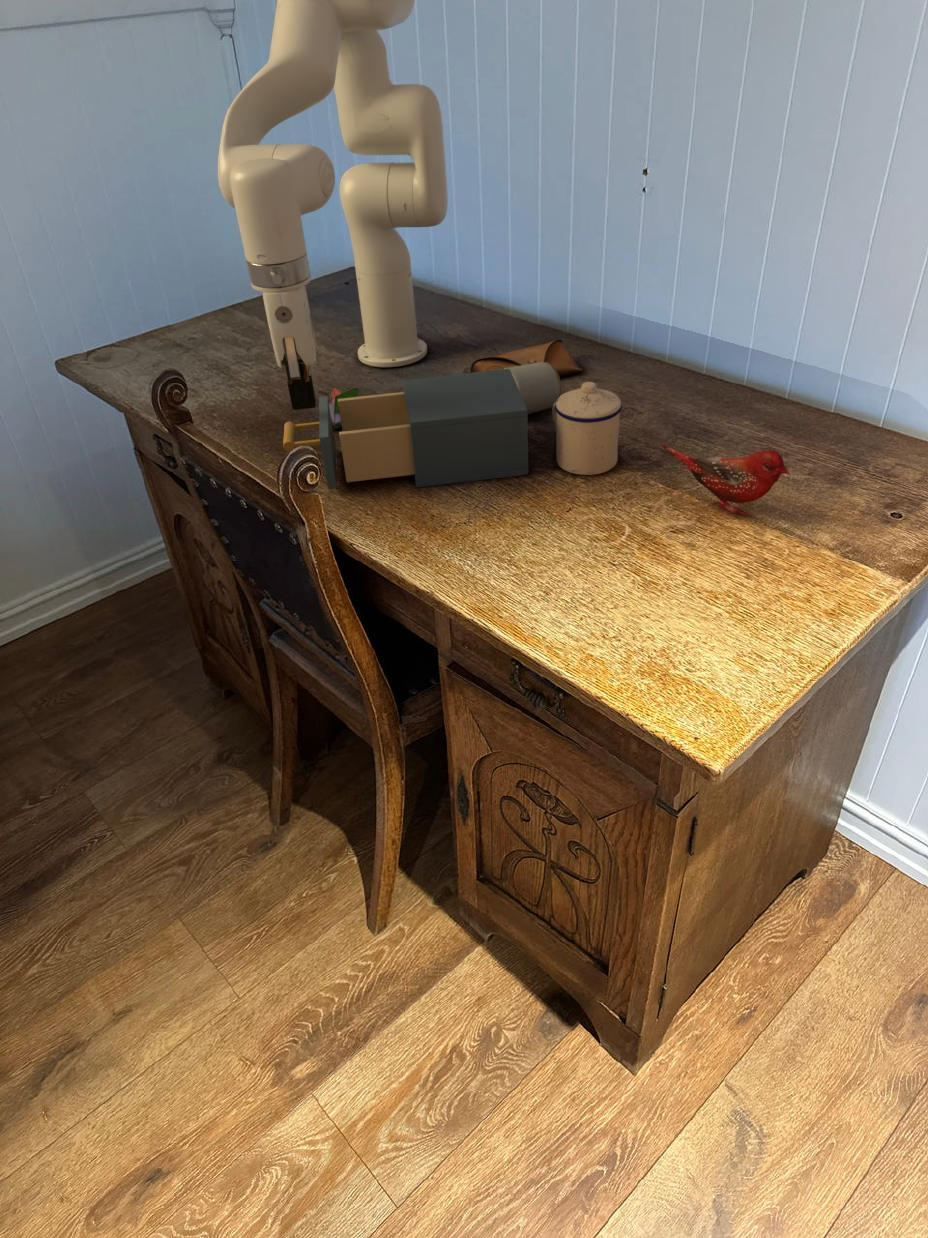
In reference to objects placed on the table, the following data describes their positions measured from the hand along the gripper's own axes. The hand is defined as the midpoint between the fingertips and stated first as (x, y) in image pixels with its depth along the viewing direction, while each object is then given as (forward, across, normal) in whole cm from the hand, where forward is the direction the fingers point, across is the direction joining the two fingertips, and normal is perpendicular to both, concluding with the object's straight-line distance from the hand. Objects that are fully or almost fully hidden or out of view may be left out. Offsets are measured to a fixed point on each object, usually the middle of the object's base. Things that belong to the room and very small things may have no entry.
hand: (304, 406), depth 124 cm
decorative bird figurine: (+10, -22, -52) cm, 57 cm away
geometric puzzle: (+11, +14, -5) cm, 18 cm away
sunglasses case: (+11, +26, -36) cm, 45 cm away
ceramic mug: (+11, +14, -33) cm, 37 cm away
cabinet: (+10, 0, -22) cm, 24 cm away
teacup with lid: (+11, -4, -38) cm, 40 cm away
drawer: (+10, 0, -6) cm, 11 cm away
